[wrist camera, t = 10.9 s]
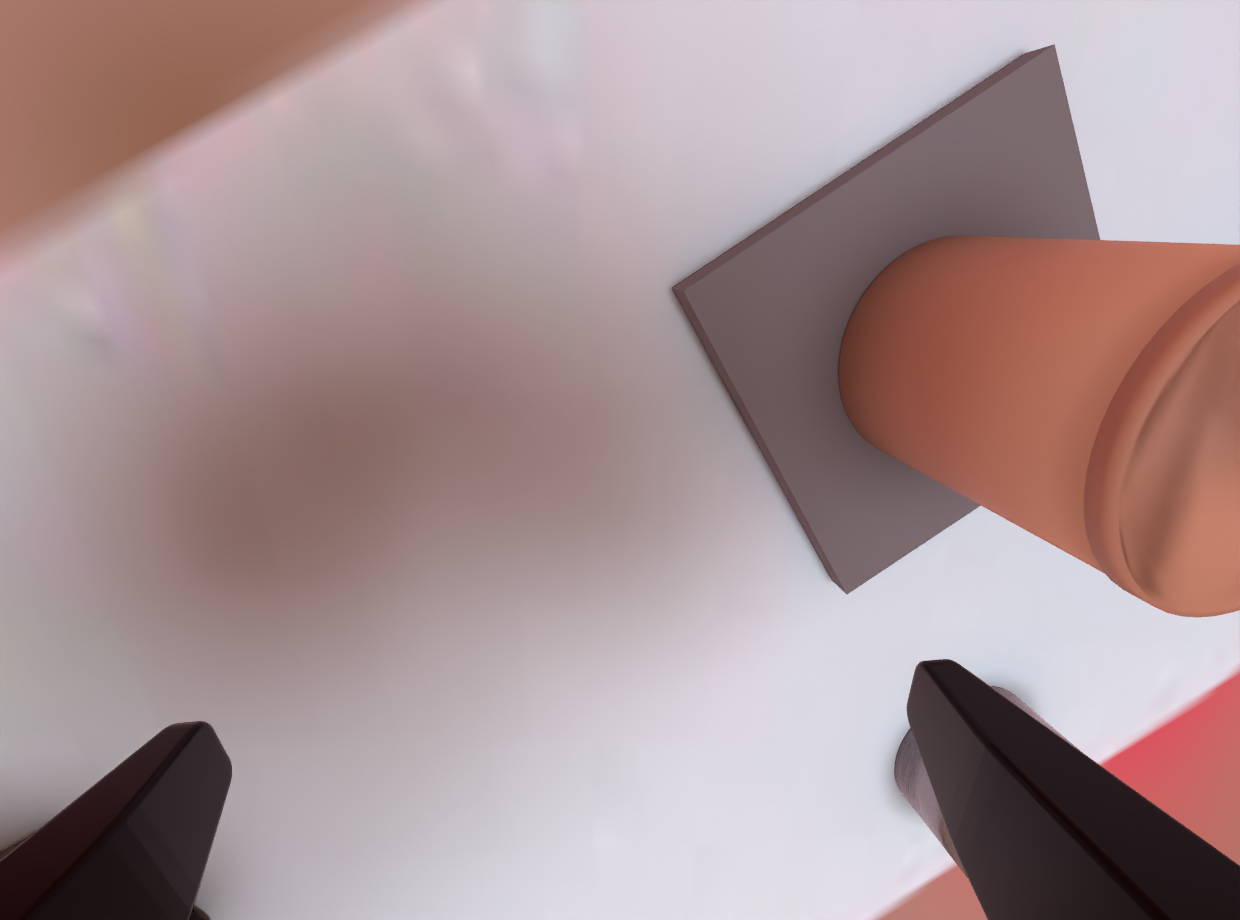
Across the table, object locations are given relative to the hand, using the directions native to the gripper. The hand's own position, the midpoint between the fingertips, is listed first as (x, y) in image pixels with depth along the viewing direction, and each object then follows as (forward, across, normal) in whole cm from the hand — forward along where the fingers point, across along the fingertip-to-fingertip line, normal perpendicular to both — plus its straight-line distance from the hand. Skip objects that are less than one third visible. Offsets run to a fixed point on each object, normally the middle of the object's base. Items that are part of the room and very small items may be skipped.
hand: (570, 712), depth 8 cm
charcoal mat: (+14, -11, +1) cm, 17 cm away
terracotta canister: (+13, -11, 0) cm, 17 cm away
